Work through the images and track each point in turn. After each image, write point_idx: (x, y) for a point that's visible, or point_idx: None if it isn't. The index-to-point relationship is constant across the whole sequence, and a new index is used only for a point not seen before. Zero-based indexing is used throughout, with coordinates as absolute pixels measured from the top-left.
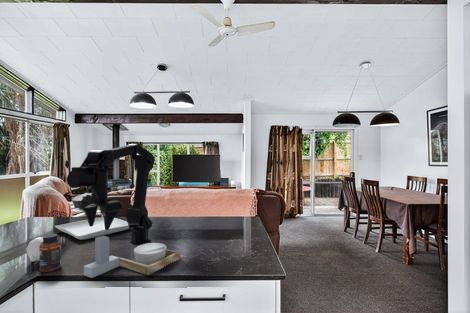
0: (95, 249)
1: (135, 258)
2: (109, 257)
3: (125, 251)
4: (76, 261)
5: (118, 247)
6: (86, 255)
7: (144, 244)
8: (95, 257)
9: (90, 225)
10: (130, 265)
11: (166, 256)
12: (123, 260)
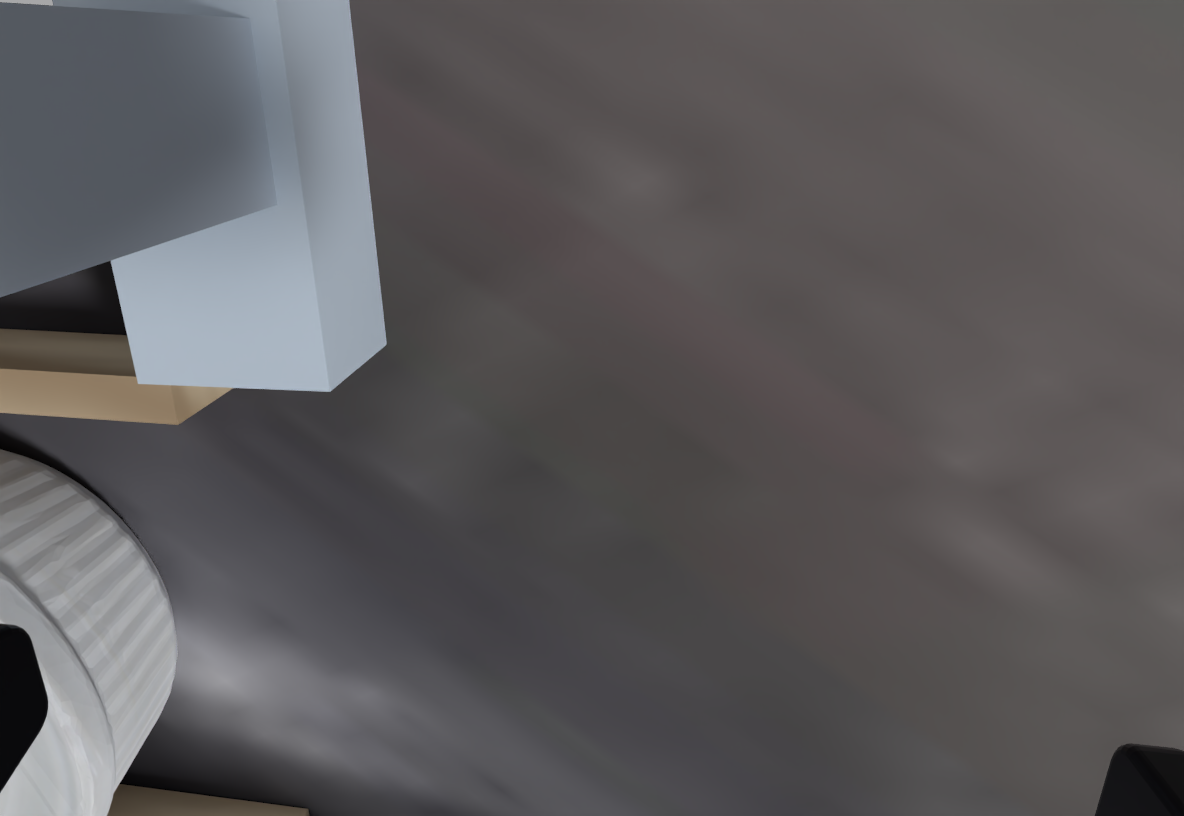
0: (52, 7)
1: (12, 501)
2: (268, 309)
3: (634, 733)
4: (1043, 108)
5: (884, 809)
6: (1121, 382)
7: (58, 804)
8: (180, 14)
9: (1139, 784)
10: None
11: None
12: (57, 368)
